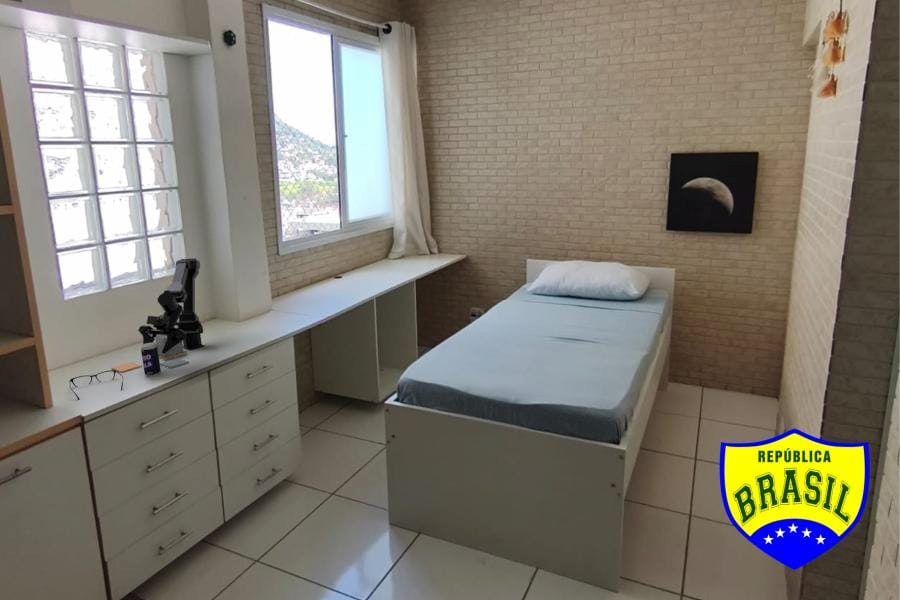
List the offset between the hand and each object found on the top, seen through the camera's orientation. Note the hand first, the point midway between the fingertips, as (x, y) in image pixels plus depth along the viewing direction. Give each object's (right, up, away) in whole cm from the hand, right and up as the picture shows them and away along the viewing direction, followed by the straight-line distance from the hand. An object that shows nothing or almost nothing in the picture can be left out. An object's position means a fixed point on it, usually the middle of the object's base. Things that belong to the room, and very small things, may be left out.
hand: (153, 352), depth 231 cm
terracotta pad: (-15, -7, +8) cm, 18 cm away
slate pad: (+3, -6, +12) cm, 13 cm away
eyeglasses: (-14, -13, -12) cm, 22 cm away
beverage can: (0, -9, +1) cm, 9 cm away
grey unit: (-3, -3, +22) cm, 22 cm away
